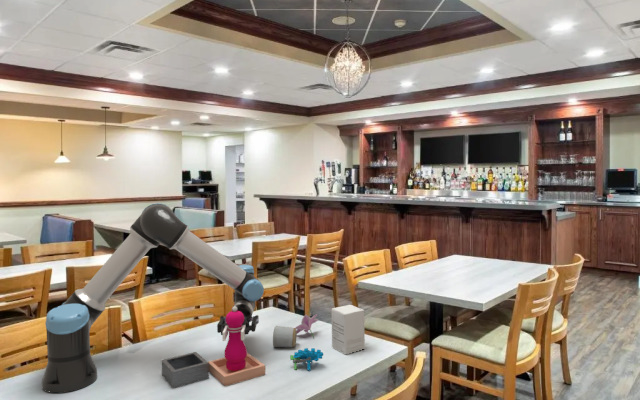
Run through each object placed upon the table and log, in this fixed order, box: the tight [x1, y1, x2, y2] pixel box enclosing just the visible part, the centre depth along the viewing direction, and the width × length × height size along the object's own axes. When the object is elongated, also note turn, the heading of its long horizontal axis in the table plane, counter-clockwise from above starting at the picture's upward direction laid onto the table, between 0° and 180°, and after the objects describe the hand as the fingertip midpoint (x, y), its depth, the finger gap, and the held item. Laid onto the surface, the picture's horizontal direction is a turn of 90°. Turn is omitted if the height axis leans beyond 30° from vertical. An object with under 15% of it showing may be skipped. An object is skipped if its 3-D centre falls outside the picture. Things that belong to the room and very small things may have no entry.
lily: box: [294, 313, 319, 339], centre depth 180 cm, size 12×12×10 cm
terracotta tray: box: [207, 352, 266, 387], centre depth 148 cm, size 14×14×3 cm
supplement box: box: [330, 304, 366, 355], centre depth 166 cm, size 9×9×15 cm
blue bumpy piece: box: [289, 347, 324, 371], centre depth 150 cm, size 11×6×10 cm
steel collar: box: [161, 351, 210, 389], centre depth 145 cm, size 11×11×5 cm
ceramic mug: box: [272, 325, 298, 348], centre depth 171 cm, size 11×8×8 cm
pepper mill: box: [224, 306, 248, 371], centre depth 147 cm, size 7×7×20 cm
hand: (233, 336), depth 142 cm, fingers closed on pepper mill, 5 cm apart
